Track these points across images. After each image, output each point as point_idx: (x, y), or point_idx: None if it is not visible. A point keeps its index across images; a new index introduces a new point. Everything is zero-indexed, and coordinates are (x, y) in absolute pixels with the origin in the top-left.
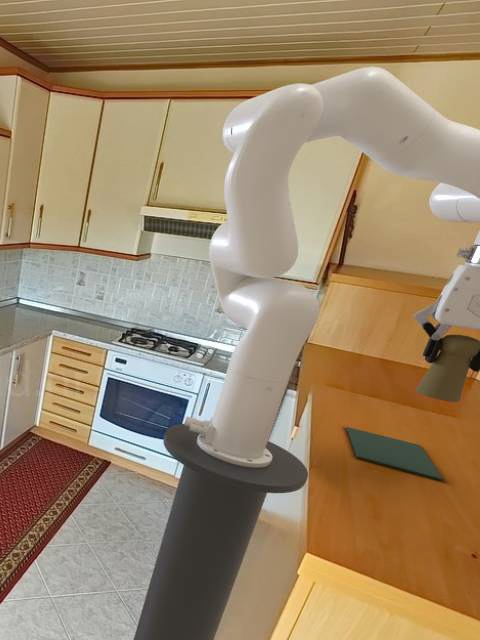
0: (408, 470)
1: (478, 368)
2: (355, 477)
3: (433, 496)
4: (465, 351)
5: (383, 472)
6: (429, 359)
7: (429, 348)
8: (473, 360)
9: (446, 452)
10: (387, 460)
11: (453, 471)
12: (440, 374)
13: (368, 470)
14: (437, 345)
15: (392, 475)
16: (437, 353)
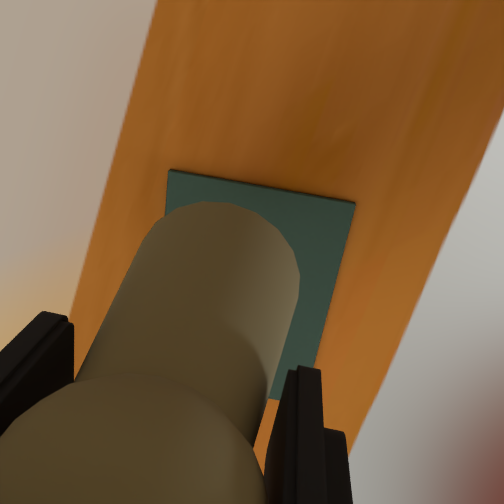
0: (240, 182)
1: (42, 319)
2: (421, 39)
3: (229, 37)
4: (119, 392)
5: (313, 138)
6: (319, 387)
7: (338, 480)
8: None
9: None
10: (277, 220)
11: (120, 258)
12: (247, 293)
13: (354, 126)
14: (317, 482)
15: (294, 130)
16: (289, 422)
